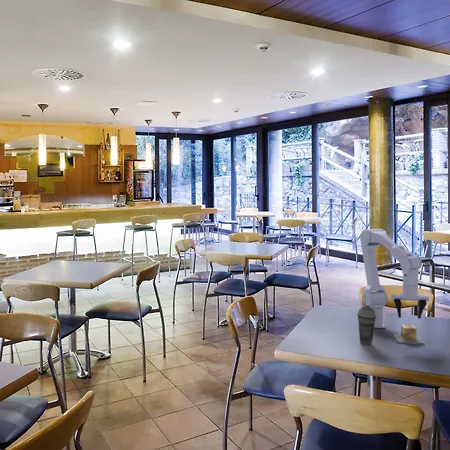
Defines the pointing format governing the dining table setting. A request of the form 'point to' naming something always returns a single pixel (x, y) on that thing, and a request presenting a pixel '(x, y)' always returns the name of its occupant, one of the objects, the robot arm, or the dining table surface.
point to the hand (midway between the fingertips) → (409, 317)
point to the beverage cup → (366, 324)
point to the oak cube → (408, 332)
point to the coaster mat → (400, 340)
